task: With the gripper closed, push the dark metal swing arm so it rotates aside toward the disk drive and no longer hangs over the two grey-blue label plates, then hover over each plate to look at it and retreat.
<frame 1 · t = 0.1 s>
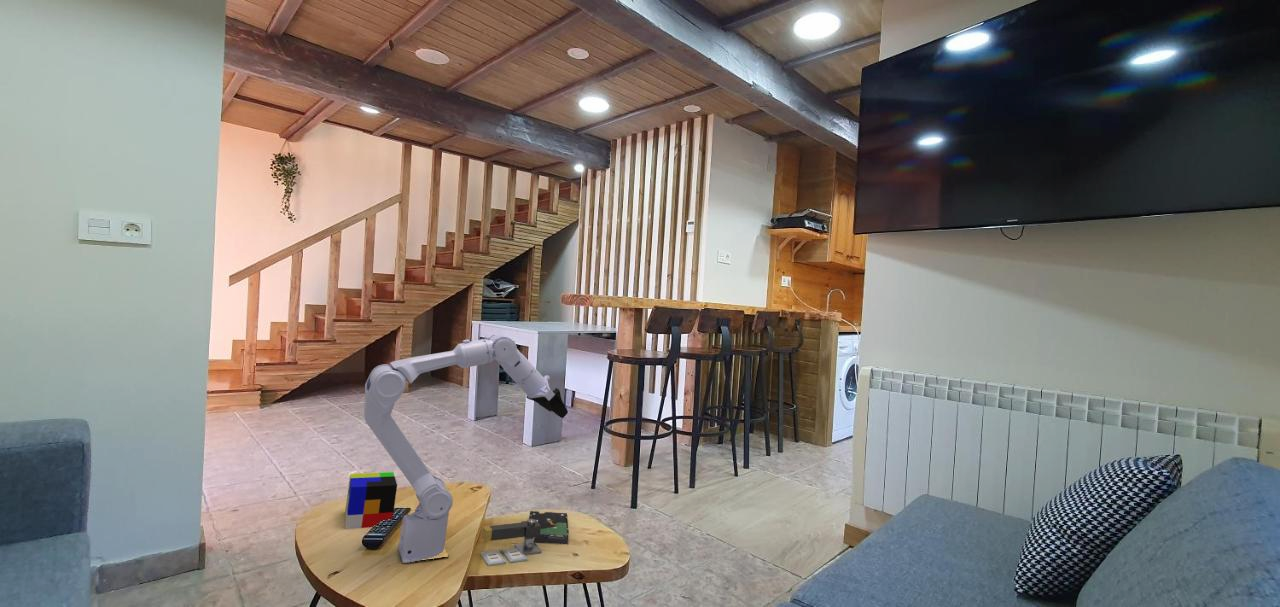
hand: (558, 411, 133), 32 cm above the table, tool tilted 50°, fingers open, 7 cm apart
swing arm: (511, 530, 123), point 5 cm above the table, hinge at 0.0°
label plate 1: (493, 558, 119), on the table
disk drive: (547, 533, 137), on the table
label plate 2: (514, 555, 122), on the table
pivot stand: (527, 549, 125), on the table
puzzle toy: (367, 520, 131), on the table
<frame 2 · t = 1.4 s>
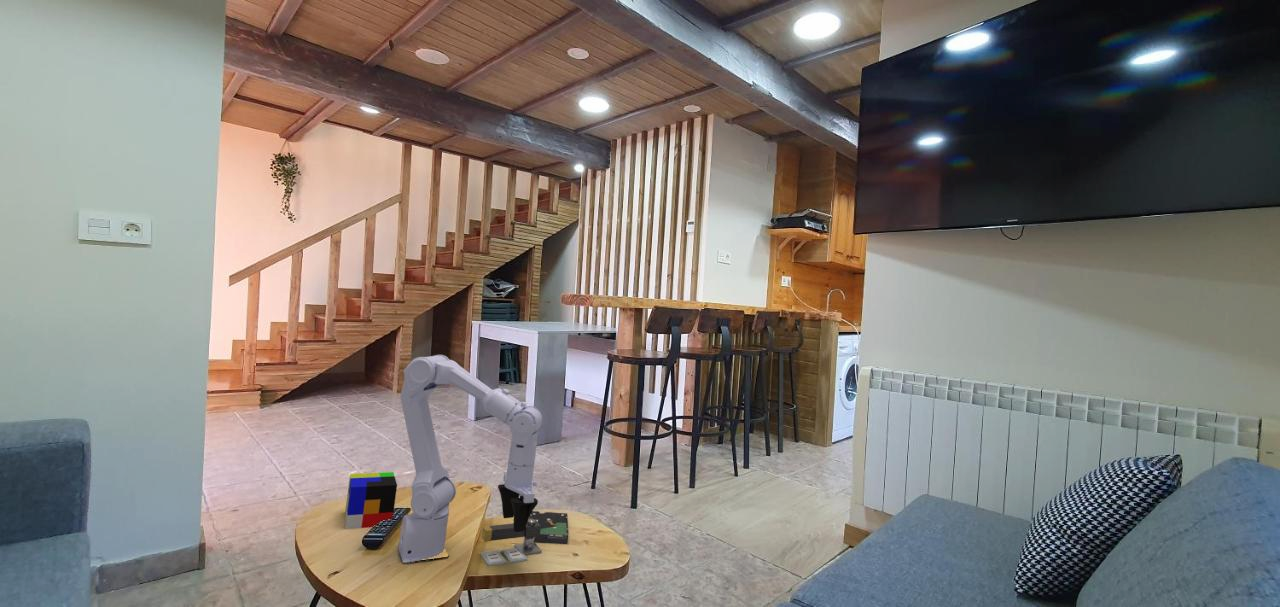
hand: (513, 524, 116), 9 cm above the table, tool pointing down, fingers open, 7 cm apart
nothing on the table moved.
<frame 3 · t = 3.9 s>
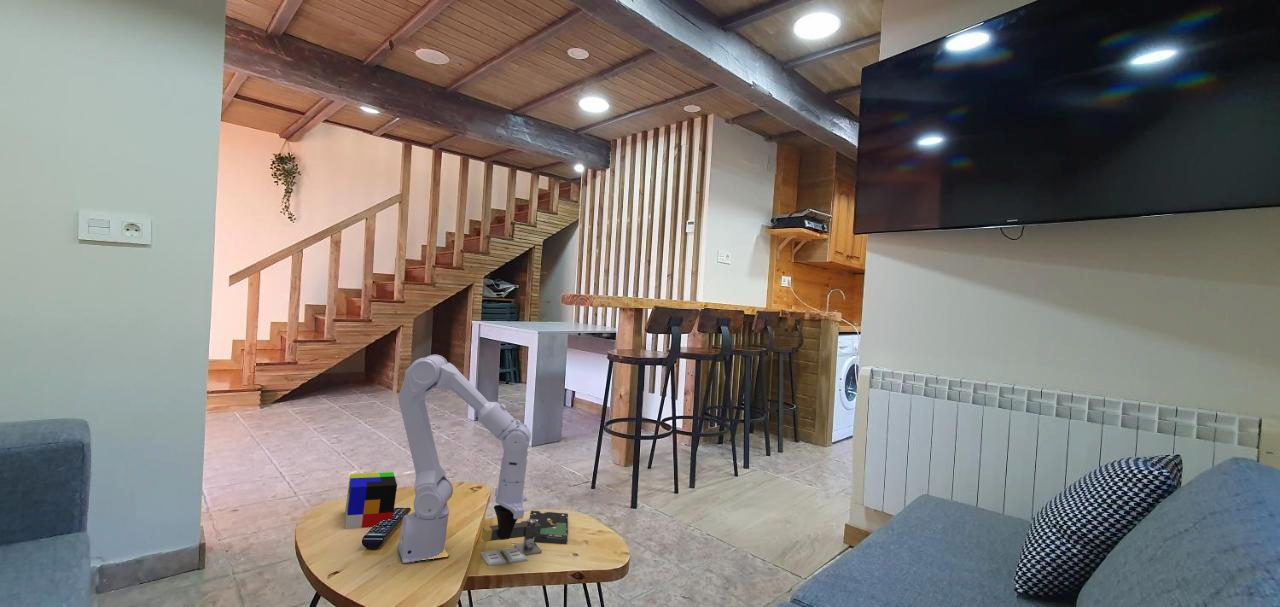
hand: (504, 538, 120), 4 cm above the table, tool pointing down, fingers closed, pressing on swing arm
swing arm: (511, 530, 123), point 5 cm above the table, hinge at 0.1°, touching gripper
everything else where it was.
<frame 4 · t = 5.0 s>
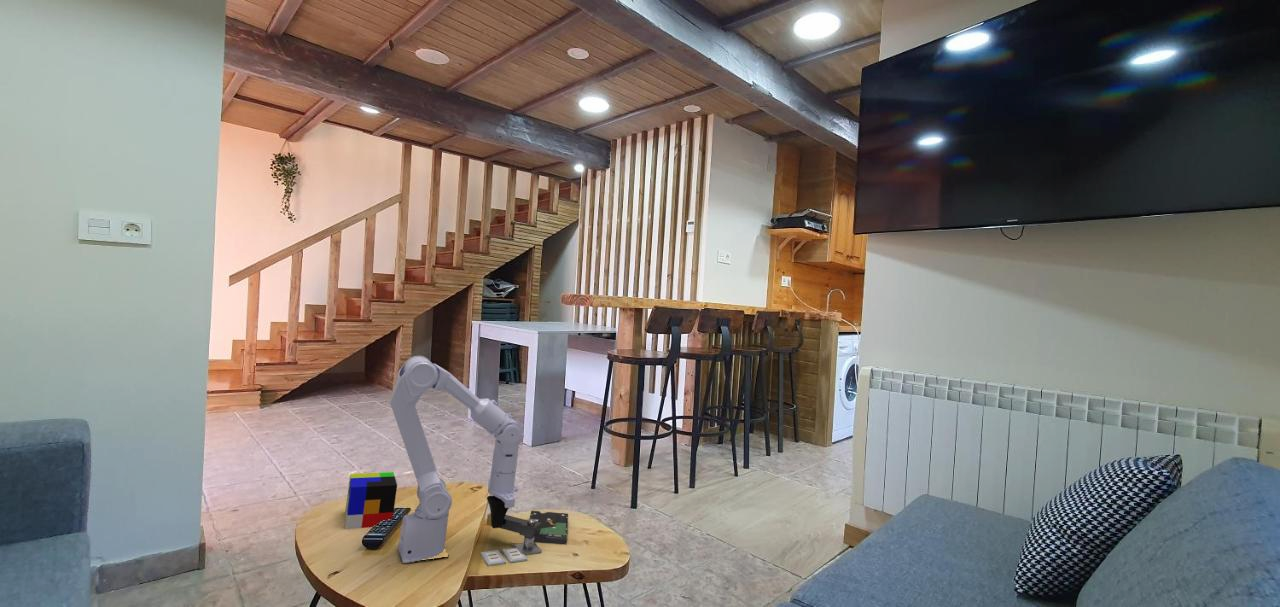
hand: (496, 527, 125), 4 cm above the table, tool pointing down, fingers closed, pressing on swing arm
swing arm: (513, 524, 127), point 5 cm above the table, hinge at 49.3°, touching gripper
everything else where it was.
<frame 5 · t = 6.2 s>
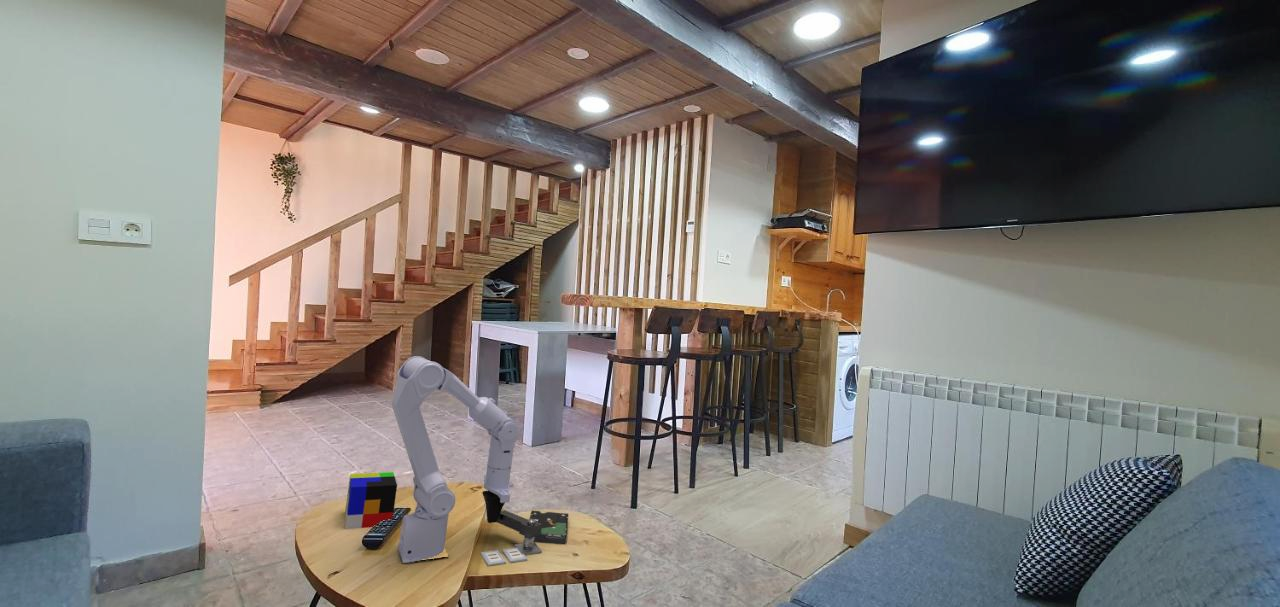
hand: (492, 521, 128), 4 cm above the table, tool pointing down, fingers closed
swing arm: (516, 522, 128), point 5 cm above the table, hinge at 63.4°, touching gripper
everything else where it was.
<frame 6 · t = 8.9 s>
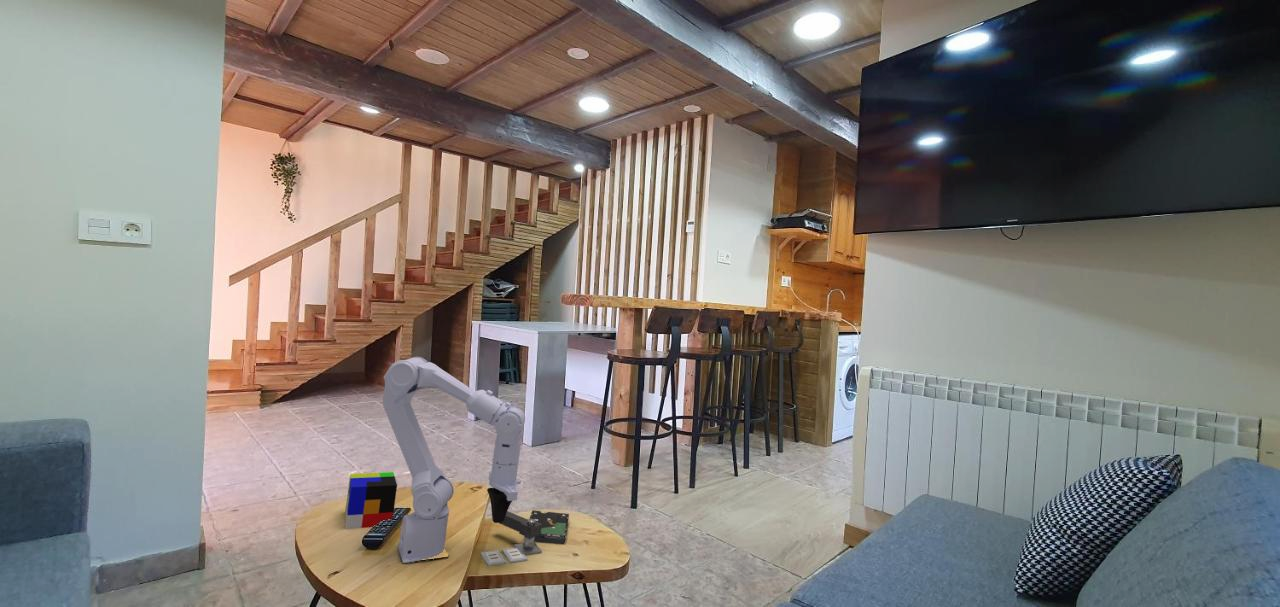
hand: (497, 521, 119), 8 cm above the table, tool pointing down, fingers closed
swing arm: (516, 522, 128), point 5 cm above the table, hinge at 63.5°
everything else where it was.
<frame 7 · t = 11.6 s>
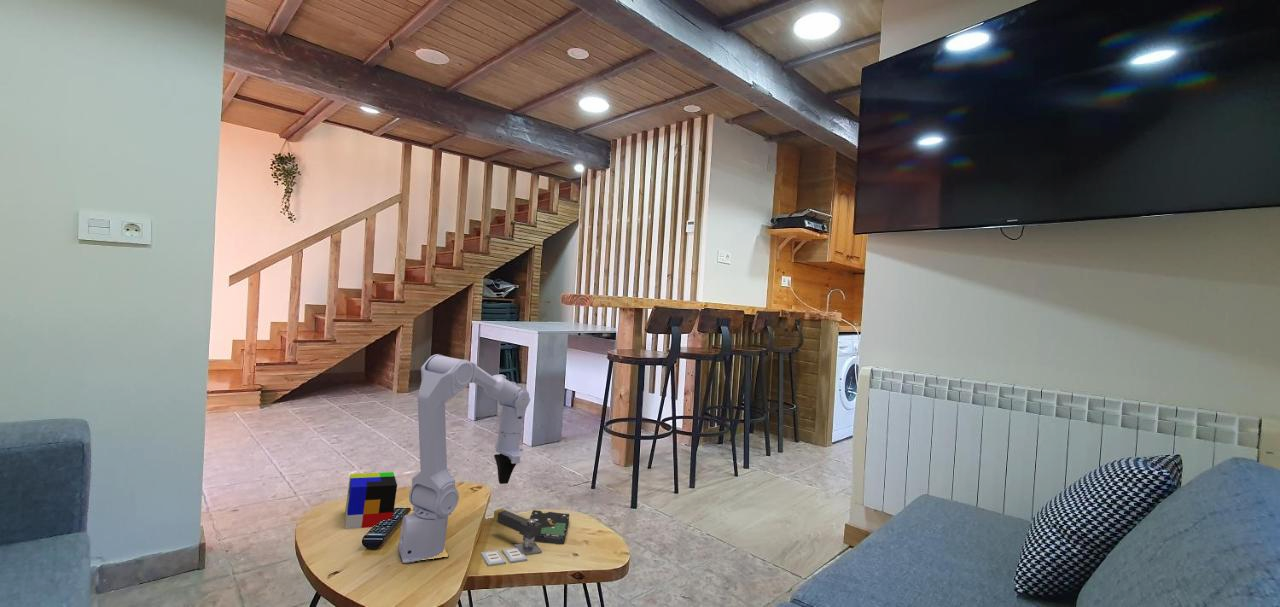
hand: (503, 482, 139), 10 cm above the table, tool pointing down, fingers closed
nothing on the table moved.
at the end: swing arm at +64° (first picture: +0°) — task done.
